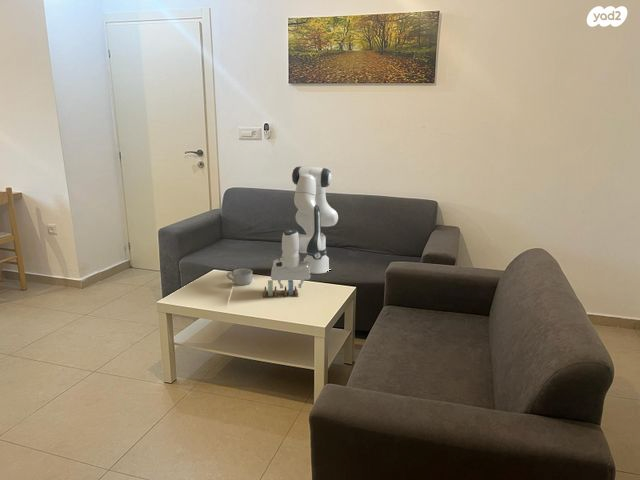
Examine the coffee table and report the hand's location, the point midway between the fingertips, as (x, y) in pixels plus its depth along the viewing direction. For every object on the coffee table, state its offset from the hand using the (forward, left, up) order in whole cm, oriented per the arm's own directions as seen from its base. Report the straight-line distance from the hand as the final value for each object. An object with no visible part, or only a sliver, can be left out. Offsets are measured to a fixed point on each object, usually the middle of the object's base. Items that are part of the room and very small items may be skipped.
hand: (290, 287), depth 241 cm
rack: (0, -5, -4) cm, 7 cm away
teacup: (-21, -27, -4) cm, 35 cm away
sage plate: (0, -10, -3) cm, 11 cm away
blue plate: (0, 0, -3) cm, 3 cm away
